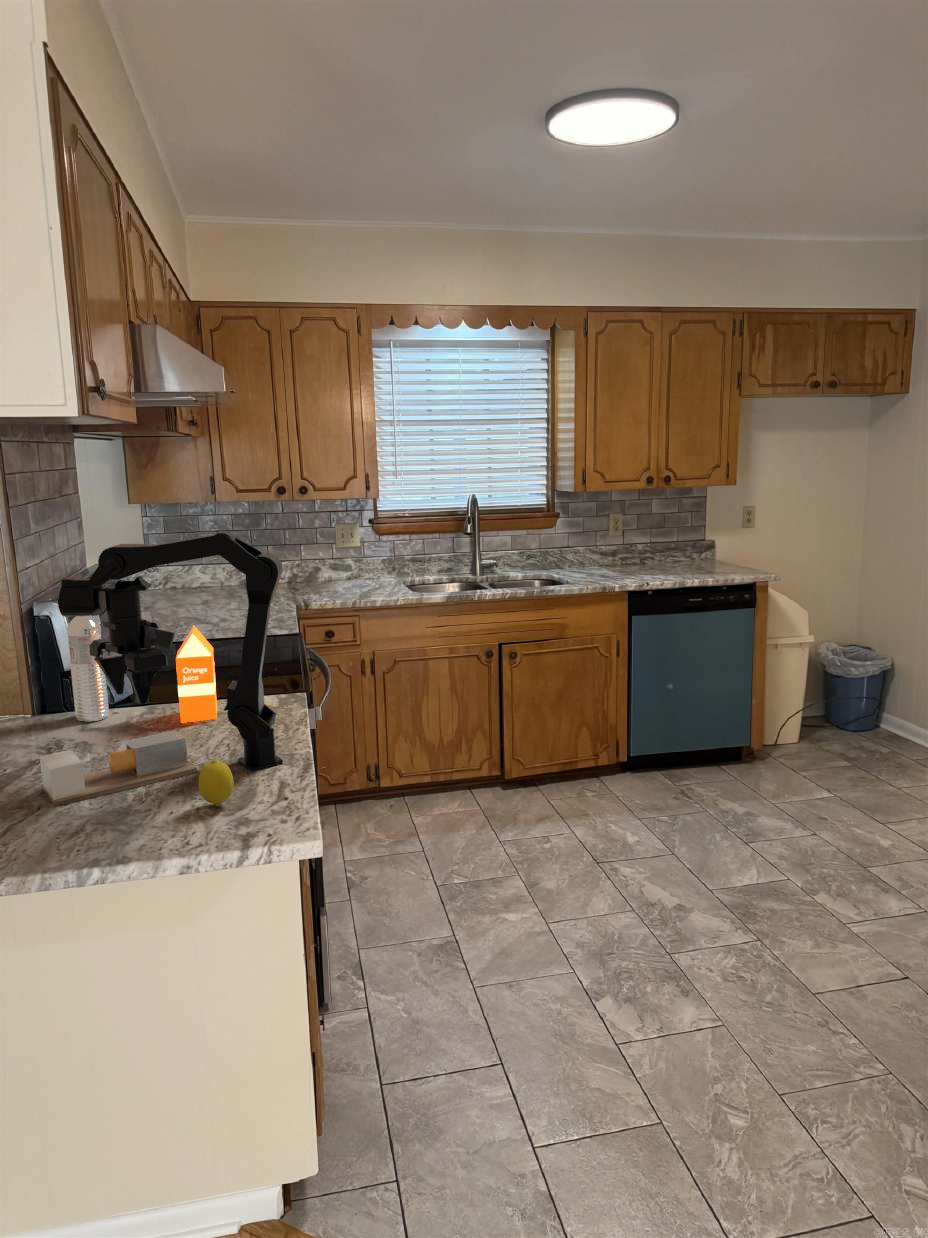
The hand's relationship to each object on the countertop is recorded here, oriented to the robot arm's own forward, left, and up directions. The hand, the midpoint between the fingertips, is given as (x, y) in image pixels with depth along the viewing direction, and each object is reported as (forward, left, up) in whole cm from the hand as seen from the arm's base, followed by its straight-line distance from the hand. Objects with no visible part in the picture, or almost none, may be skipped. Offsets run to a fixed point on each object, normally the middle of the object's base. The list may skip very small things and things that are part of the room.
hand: (131, 698), depth 152 cm
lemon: (-26, -5, -14) cm, 30 cm away
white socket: (-4, +14, -13) cm, 20 cm away
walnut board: (-4, +4, -13) cm, 15 cm away
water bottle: (+38, -2, -14) cm, 40 cm away
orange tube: (-4, -1, -12) cm, 12 cm away
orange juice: (+24, -21, -14) cm, 35 cm away
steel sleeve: (-4, -2, -13) cm, 14 cm away
